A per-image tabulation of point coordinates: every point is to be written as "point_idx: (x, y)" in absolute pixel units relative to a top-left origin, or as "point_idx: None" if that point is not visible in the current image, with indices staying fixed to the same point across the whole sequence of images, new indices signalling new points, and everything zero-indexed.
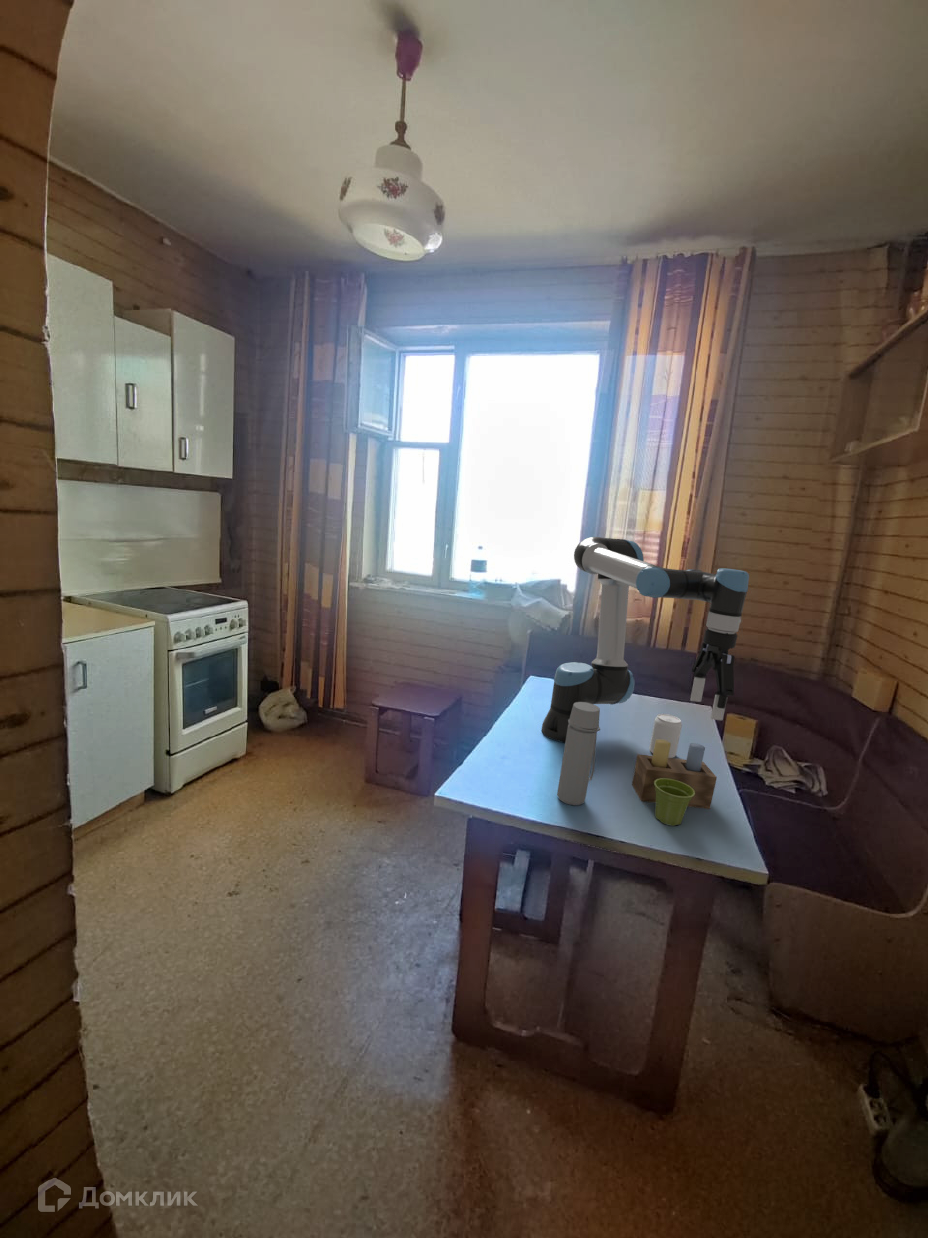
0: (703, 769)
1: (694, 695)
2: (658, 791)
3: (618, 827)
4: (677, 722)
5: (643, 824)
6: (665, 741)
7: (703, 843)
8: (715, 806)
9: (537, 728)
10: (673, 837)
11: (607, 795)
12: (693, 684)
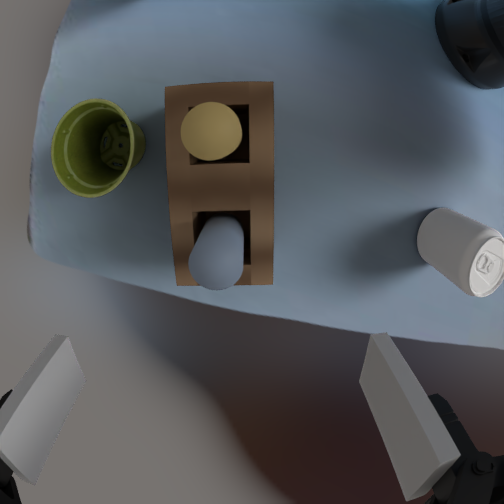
0: None
1: (380, 370)
2: (82, 108)
3: (80, 51)
4: (469, 283)
5: (96, 94)
6: (222, 143)
7: (66, 195)
8: None
9: None
10: None
11: (196, 34)
12: (428, 410)
